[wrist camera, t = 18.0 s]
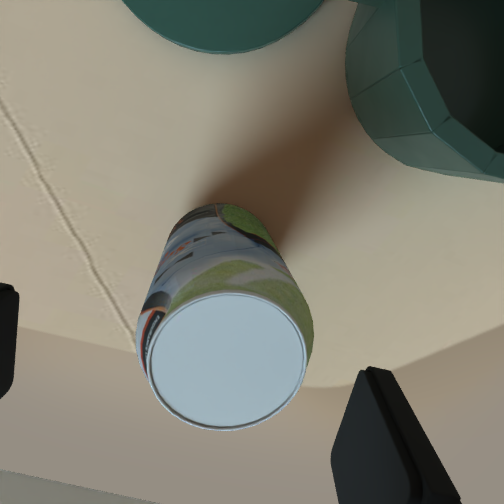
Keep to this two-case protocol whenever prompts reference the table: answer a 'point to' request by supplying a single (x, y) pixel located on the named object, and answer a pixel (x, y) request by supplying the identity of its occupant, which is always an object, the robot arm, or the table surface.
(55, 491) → the robot arm
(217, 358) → the beverage can
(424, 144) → the pot
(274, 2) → the lid
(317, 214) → the table surface
